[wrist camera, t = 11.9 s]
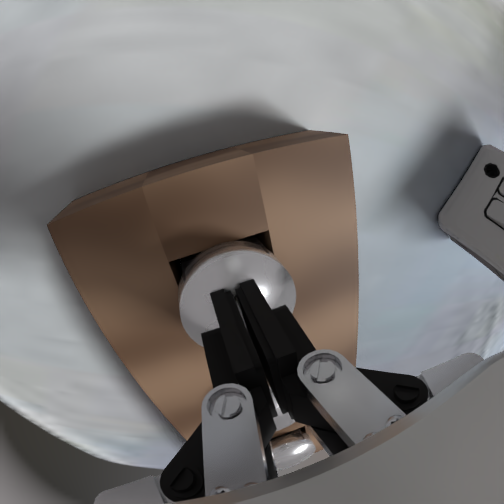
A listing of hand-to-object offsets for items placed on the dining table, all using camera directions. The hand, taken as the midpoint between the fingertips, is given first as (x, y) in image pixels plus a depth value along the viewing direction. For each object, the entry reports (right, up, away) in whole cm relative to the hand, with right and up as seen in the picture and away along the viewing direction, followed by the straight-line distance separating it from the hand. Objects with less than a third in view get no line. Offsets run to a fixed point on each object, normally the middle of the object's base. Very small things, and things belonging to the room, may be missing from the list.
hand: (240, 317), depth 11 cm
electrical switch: (+19, +7, +8) cm, 22 cm away
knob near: (-1, +2, +4) cm, 5 cm away
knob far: (+2, -12, +11) cm, 16 cm away
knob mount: (0, -5, +8) cm, 9 cm away
